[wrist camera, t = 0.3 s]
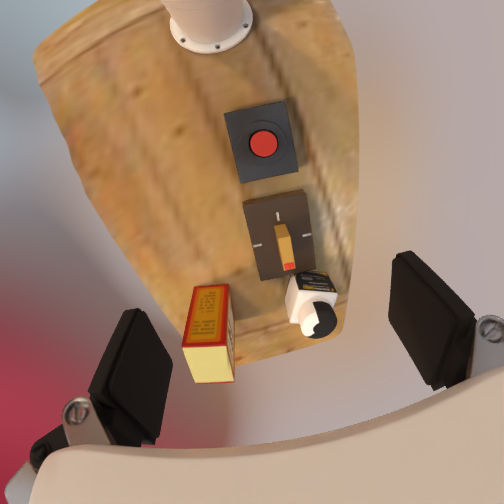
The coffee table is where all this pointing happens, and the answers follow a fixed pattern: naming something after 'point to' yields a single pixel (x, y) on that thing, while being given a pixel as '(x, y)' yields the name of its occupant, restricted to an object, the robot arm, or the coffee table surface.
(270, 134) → the door button
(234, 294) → the coffee table surface
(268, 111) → the box
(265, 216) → the plate
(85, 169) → the coffee table surface
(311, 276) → the medicine bottle
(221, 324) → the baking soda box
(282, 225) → the orange block red tip
